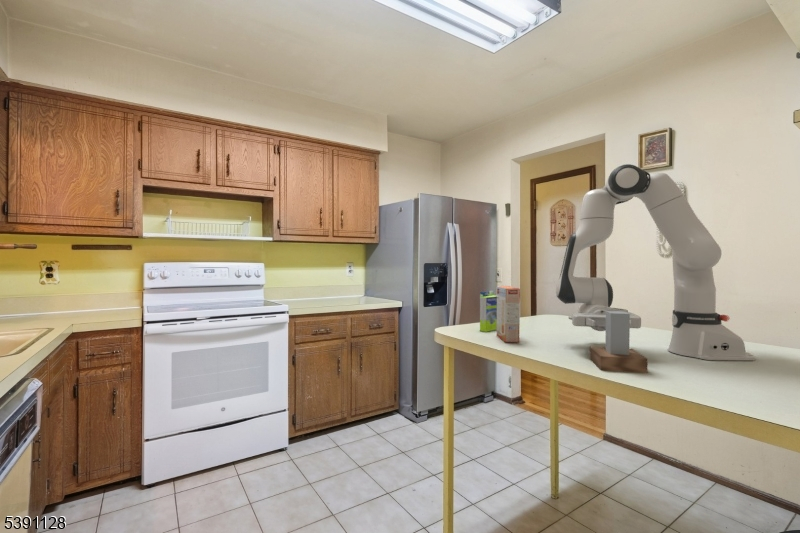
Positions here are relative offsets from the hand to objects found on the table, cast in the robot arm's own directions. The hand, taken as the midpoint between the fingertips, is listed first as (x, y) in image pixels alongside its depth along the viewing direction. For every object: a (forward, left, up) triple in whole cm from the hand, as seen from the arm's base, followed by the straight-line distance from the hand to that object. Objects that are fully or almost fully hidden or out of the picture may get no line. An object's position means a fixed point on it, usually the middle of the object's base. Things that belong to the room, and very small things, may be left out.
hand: (612, 324), depth 119 cm
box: (+37, -45, -12) cm, 59 cm away
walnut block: (0, +5, -11) cm, 13 cm away
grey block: (0, +5, -7) cm, 9 cm away
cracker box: (+30, -27, -12) cm, 42 cm away
